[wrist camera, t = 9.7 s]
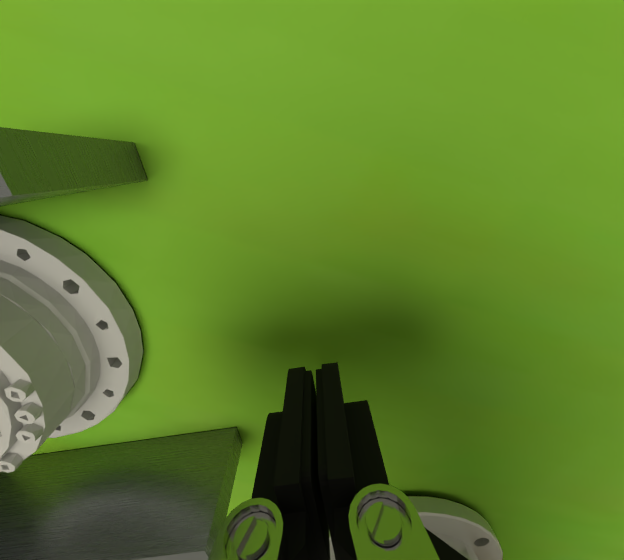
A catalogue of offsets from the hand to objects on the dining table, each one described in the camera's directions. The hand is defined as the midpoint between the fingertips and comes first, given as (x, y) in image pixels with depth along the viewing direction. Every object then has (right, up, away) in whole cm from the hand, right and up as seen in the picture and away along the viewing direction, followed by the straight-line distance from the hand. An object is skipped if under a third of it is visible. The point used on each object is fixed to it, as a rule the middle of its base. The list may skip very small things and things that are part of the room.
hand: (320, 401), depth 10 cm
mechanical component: (-13, +2, +3) cm, 13 cm away
